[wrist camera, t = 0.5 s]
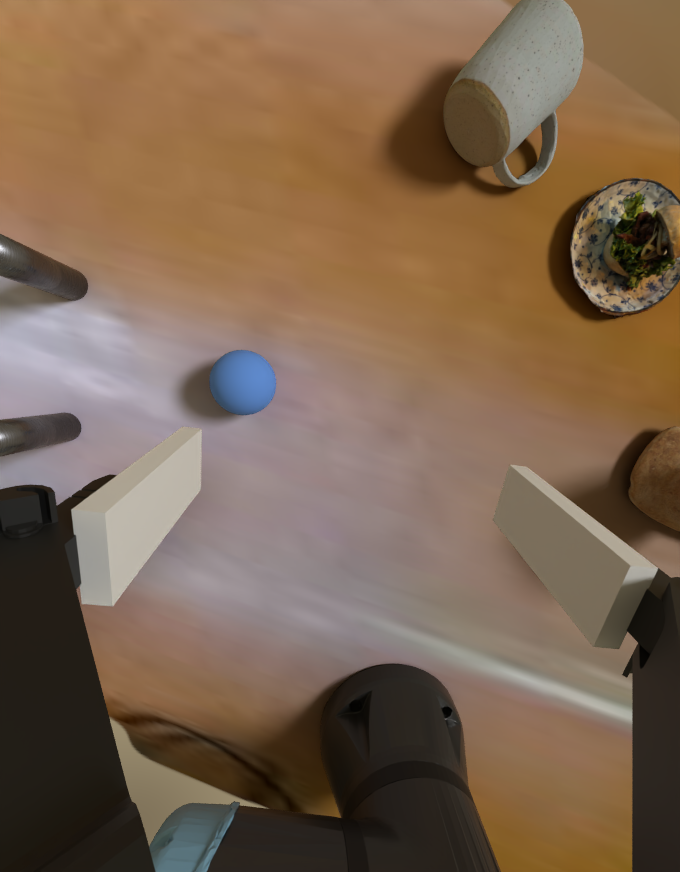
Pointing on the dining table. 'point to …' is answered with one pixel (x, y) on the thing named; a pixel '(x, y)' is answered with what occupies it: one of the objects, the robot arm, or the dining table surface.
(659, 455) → the brown boot
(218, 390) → the ball
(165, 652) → the dining table surface
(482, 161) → the ceramic mug
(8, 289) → the dining table surface
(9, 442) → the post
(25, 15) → the dining table surface
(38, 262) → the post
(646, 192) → the plate of salad
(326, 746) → the robot arm
